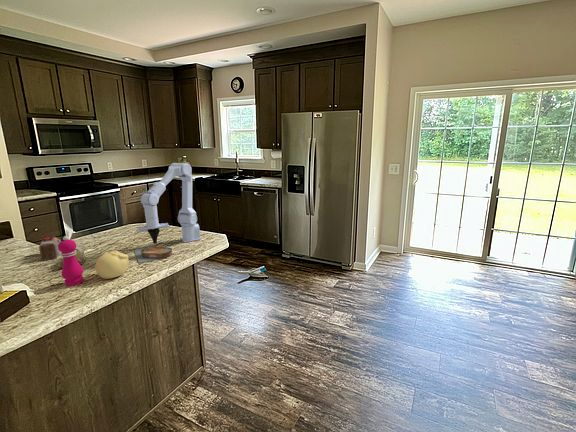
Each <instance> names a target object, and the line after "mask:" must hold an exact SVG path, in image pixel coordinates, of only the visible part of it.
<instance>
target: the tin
mask: <svg viewBox="0 0 576 432" xmlns="http://www.w3.org/2000/svg"><path fill="white" fill-rule="evenodd" d="M144 248H145V249H143V248H142V249H143V250H141V253H142V256H143V257H146V258H162V259H163V258H167V257H170V256H171V255H172V254H173V251H172V250H173V248H172V247H167V246H165V247H164V246H155V247H154V246H149V247H144Z"/></svg>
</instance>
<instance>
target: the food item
mask: <svg viewBox="0 0 576 432" xmlns="http://www.w3.org/2000/svg"><path fill="white" fill-rule="evenodd" d="M61 241H62V240H61V239H60V238H58V237H55V236H49V237H43V238H42V239H41V243H40V244H39V245H38V249H39V255H40V258H41V259H42V261H49V260H56V259H57V258H58V256H60V255H61V251H59V250H58V244H59V243H60V242H61Z"/></svg>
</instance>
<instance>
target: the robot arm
mask: <svg viewBox="0 0 576 432" xmlns="http://www.w3.org/2000/svg"><path fill="white" fill-rule="evenodd" d="M192 172H193V171H192V166H191V165H190V164H189V163H188V162H187V163H186V162H184V163H183V162H181V163H180V162H172V163H171V164H170V165H169V166H168V170H167V171H166V173H165V174H164V175H163V177H162V178H161V179H160V180H159V181H156V182H153V185H152V186H151V188H150V189H148V190H147V191H146V193H143V194H142V195H141V197H140V199H139V200H140V203H141V204H142V207H143V208H144V209H143V211H144V216H145V225H142V226H137V227H136V231H137V233H140V232H146V231H147V232H148V234H149V236H150V238H151V239H152V243H153V245H155V244H157V243H158V237H159V234H160V231H161V229H164V228H167V229H168V228H169V223H168V222H164V223H163V222H162V223H159V216H158V206H157V205H158V204H159V200H160V197H161V196H162V195H163V194H164V192H165V191H166V190H167V188H166V186H167V185H168V184H169V183H170V182H171V181H172V180H173V179H174V178H176V177H178V179H180V180H181V182H182V183H181V195H182V196H181V204H182V205H181V208H180V209H179V211H178V216H177V222H178V223H179V224H180V226H181V235H182V237H181V238H180V239H181V240H182V242H183V243H188V242H194V241H200V240H201V231H200V229H201V228H200V225H199V223H197V222H198V216H197V212H196V211H195V209H194V208H193V173H192Z"/></svg>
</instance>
